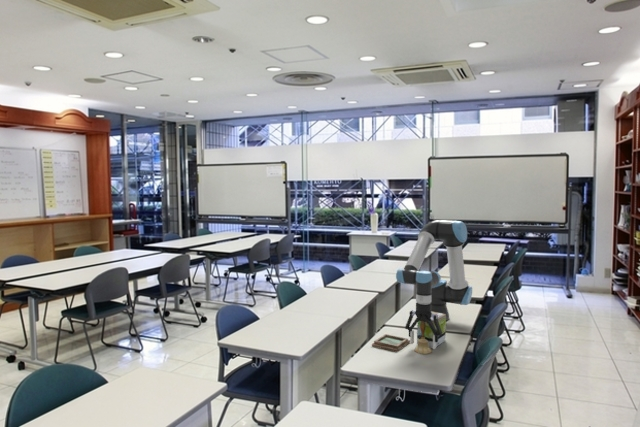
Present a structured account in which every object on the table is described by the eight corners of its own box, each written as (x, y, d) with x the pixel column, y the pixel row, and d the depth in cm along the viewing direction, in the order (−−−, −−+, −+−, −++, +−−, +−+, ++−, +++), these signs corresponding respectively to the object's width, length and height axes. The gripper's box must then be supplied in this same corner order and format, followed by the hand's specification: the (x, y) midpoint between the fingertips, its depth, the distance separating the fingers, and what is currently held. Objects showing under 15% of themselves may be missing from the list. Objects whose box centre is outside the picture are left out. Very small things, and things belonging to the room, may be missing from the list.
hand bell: (418, 354, 218) (419, 322, 217) (411, 348, 226) (412, 317, 225) (434, 353, 219) (434, 321, 218) (427, 347, 228) (427, 316, 226)
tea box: (434, 349, 225) (435, 320, 224) (416, 344, 231) (416, 316, 230) (446, 340, 237) (446, 313, 236) (428, 336, 243) (428, 310, 242)
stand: (385, 337, 242) (385, 333, 242) (409, 342, 234) (410, 338, 234) (371, 346, 229) (371, 341, 229) (396, 352, 221) (396, 347, 221)
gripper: (398, 300, 225) (398, 343, 226) (444, 308, 211) (443, 353, 213) (404, 297, 231) (404, 338, 232) (449, 304, 217) (448, 348, 219)
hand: (423, 345), depth 223 cm, fingers open, 11 cm apart
